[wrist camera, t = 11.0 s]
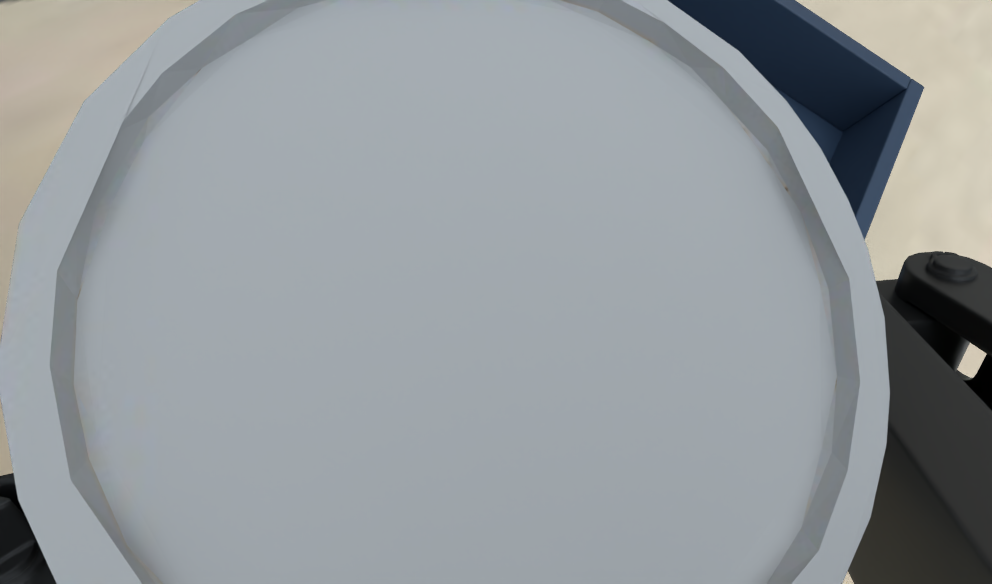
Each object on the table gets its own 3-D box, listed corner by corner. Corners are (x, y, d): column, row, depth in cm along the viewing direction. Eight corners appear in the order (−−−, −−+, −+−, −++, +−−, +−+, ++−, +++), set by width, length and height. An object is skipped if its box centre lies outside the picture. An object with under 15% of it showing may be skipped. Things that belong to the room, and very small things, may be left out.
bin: (453, 190, 26) (467, 136, 21) (609, -22, 31) (647, -100, 27) (741, 379, 26) (815, 367, 21) (847, 137, 31) (925, 86, 27)
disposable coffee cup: (197, 362, 16) (-321, 159, 4) (455, 192, 19) (557, -199, 7) (395, 636, 15) (410, 1303, 3) (633, 414, 18) (1072, 370, 6)
